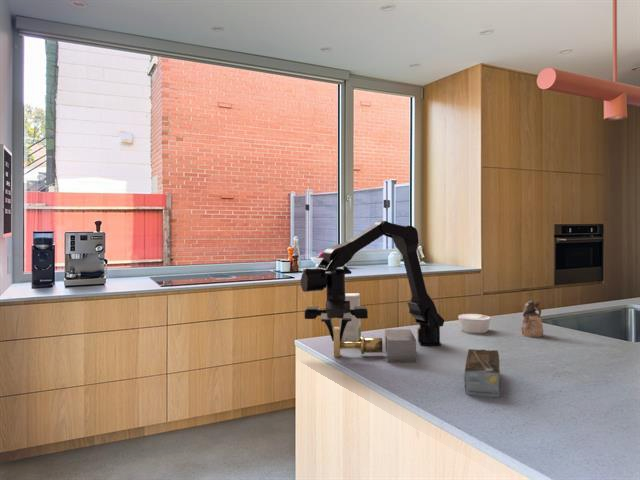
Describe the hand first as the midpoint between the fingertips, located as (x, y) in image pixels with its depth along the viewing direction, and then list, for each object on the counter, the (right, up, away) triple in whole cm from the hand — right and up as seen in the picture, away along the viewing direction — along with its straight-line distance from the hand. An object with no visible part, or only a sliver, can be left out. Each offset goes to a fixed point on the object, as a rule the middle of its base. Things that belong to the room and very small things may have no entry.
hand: (336, 340), depth 144 cm
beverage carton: (+35, -5, -27) cm, 44 cm away
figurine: (+69, -3, +22) cm, 72 cm away
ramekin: (+51, -3, +30) cm, 60 cm away
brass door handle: (+6, -4, 0) cm, 8 cm away
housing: (+19, -4, -1) cm, 19 cm away
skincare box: (+5, -4, +21) cm, 22 cm away
